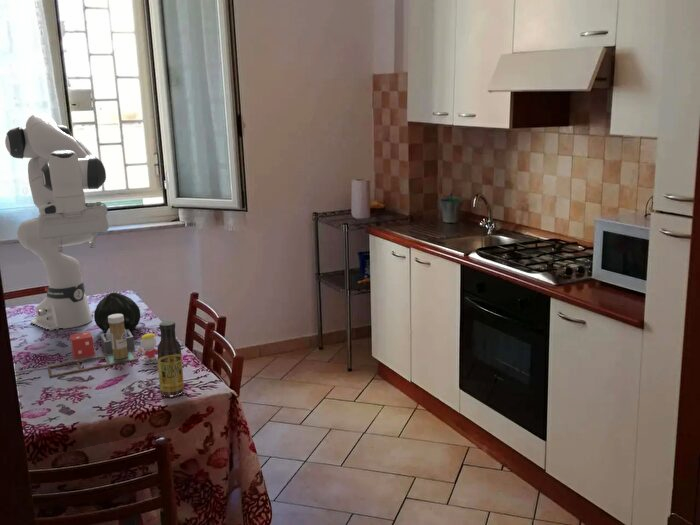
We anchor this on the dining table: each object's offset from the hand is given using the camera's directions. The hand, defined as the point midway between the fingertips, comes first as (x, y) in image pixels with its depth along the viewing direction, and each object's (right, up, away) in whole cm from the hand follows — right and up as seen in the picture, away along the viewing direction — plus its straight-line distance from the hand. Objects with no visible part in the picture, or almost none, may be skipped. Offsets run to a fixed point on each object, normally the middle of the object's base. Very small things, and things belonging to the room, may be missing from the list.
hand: (76, 249), depth 216 cm
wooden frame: (+6, -35, -4) cm, 35 cm away
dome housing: (+10, -31, +10) cm, 34 cm away
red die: (0, -33, +5) cm, 33 cm away
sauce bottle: (+37, -39, -27) cm, 60 cm away
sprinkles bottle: (+14, -33, 0) cm, 36 cm away
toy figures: (+26, -33, -1) cm, 42 cm away
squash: (+5, -28, +26) cm, 38 cm away
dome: (+10, -30, +10) cm, 33 cm away
